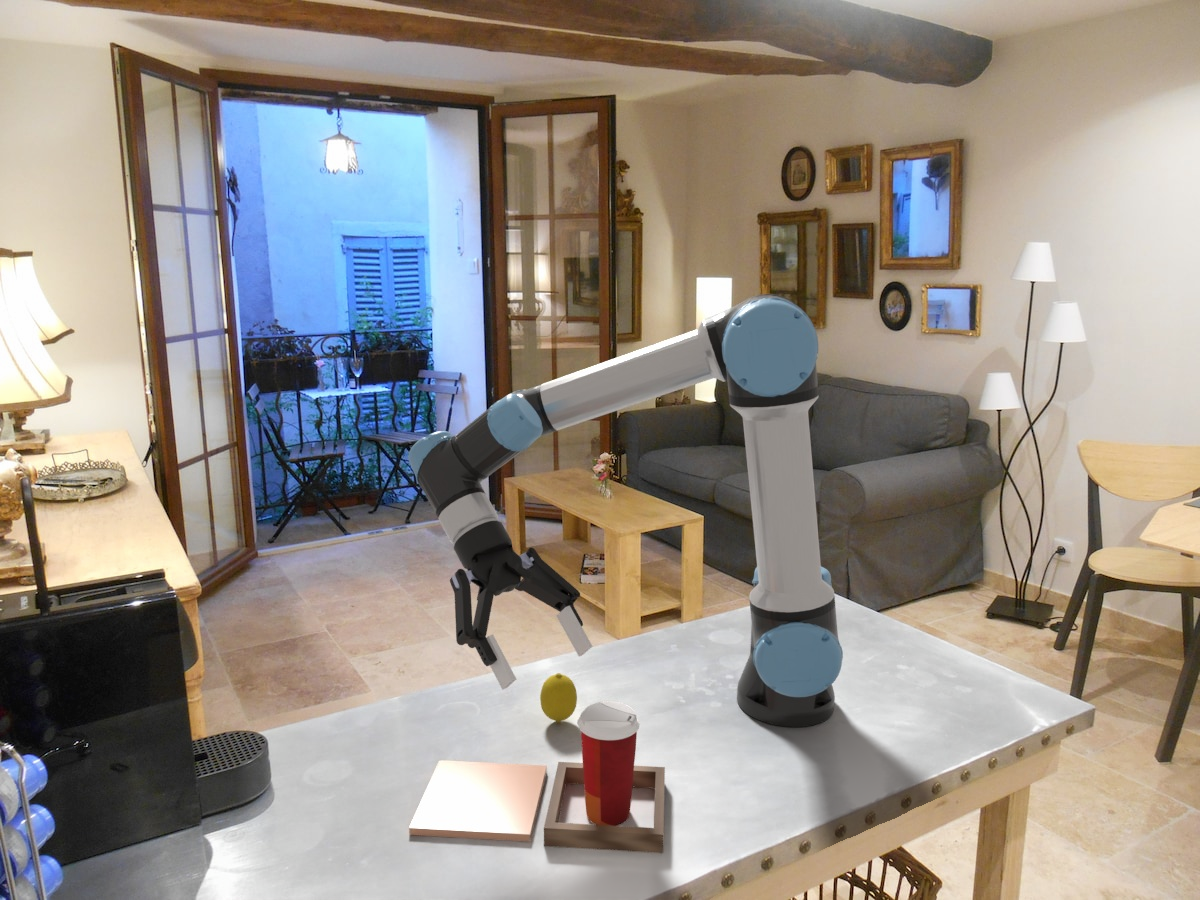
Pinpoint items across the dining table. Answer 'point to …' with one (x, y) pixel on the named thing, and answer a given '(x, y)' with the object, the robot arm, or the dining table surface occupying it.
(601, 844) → the walnut frame
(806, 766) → the dining table surface
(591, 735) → the paper cup
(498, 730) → the dining table surface
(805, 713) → the robot arm
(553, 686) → the lemon
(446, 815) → the terracotta tile
